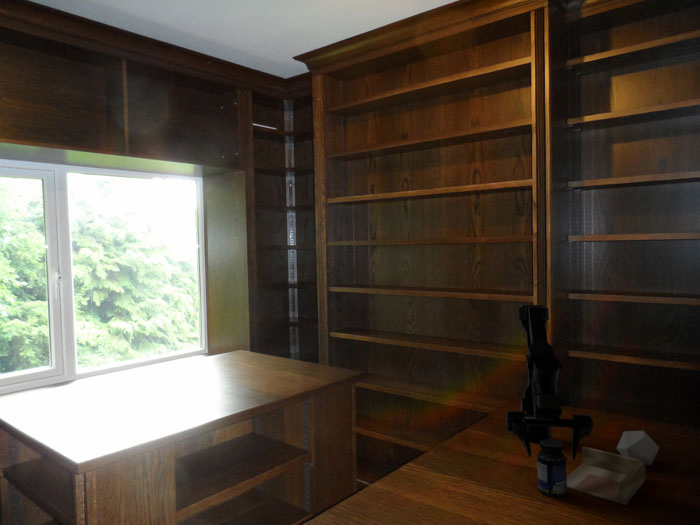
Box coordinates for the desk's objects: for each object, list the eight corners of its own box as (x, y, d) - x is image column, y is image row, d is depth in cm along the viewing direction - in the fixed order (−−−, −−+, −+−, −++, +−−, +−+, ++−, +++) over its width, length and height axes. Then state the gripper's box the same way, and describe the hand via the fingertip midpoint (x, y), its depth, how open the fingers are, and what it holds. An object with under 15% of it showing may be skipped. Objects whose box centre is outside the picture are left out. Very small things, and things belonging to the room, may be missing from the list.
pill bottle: (567, 488, 116) (566, 440, 116) (566, 500, 111) (565, 449, 111) (538, 483, 119) (538, 436, 119) (536, 495, 113) (535, 445, 113)
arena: (559, 485, 118) (558, 466, 118) (583, 463, 129) (583, 446, 129) (625, 504, 108) (625, 484, 108) (645, 479, 120) (645, 460, 120)
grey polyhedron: (656, 476, 123) (669, 439, 126) (622, 456, 124) (636, 421, 127) (638, 474, 131) (651, 440, 134) (606, 456, 132) (619, 422, 135)
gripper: (505, 376, 122) (509, 438, 111) (590, 379, 117) (602, 445, 107) (505, 400, 129) (507, 460, 119) (584, 404, 125) (595, 467, 114)
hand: (551, 458), depth 114 cm, fingers open, 9 cm apart
